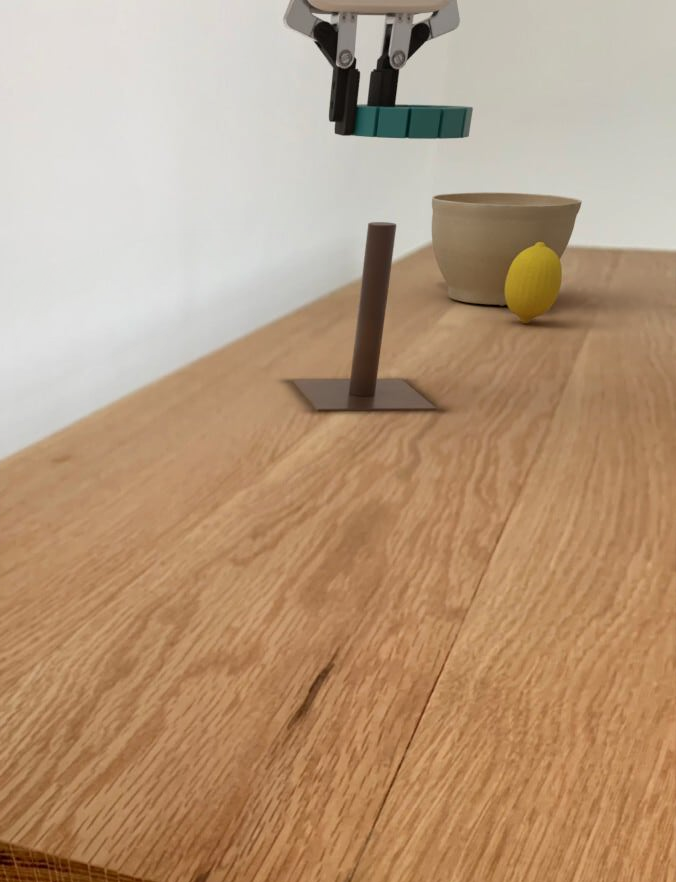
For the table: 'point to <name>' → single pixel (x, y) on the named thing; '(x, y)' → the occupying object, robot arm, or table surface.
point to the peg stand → (368, 343)
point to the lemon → (533, 282)
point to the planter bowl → (494, 237)
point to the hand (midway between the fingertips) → (359, 132)
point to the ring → (413, 121)
